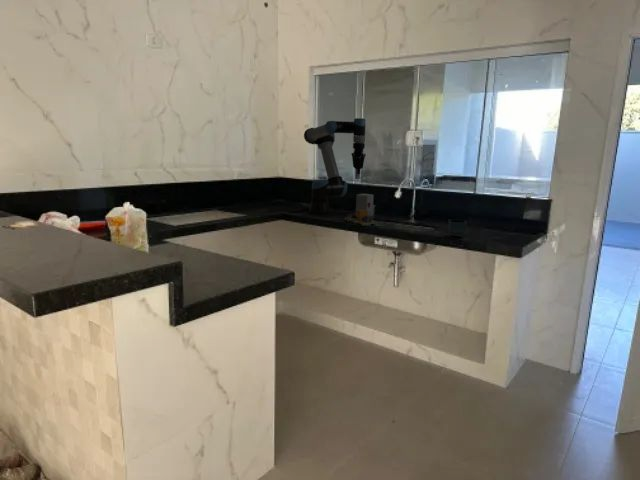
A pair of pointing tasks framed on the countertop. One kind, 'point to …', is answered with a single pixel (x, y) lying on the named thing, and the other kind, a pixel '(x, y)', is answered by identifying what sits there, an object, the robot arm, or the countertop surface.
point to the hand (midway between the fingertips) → (357, 178)
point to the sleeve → (361, 214)
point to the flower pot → (457, 227)
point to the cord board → (365, 221)
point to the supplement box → (365, 203)
